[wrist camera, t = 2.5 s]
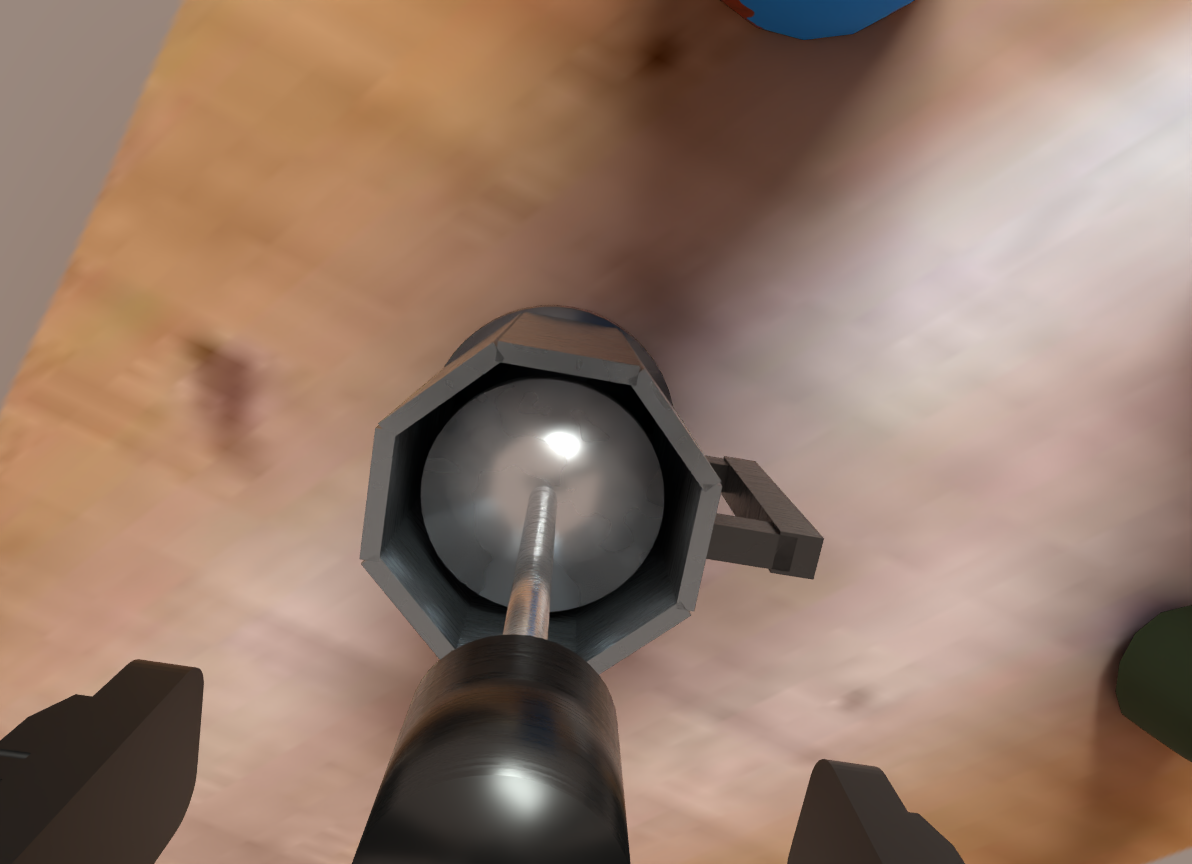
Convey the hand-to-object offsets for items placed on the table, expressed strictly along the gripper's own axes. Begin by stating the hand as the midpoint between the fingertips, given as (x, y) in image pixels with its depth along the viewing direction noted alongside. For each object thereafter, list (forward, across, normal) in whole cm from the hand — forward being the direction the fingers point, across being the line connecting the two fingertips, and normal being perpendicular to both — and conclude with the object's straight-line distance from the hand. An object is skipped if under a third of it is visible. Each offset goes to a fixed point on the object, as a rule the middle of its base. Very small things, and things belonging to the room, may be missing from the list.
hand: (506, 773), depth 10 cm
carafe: (+21, -2, 0) cm, 22 cm away
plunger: (+12, 0, 0) cm, 12 cm away
